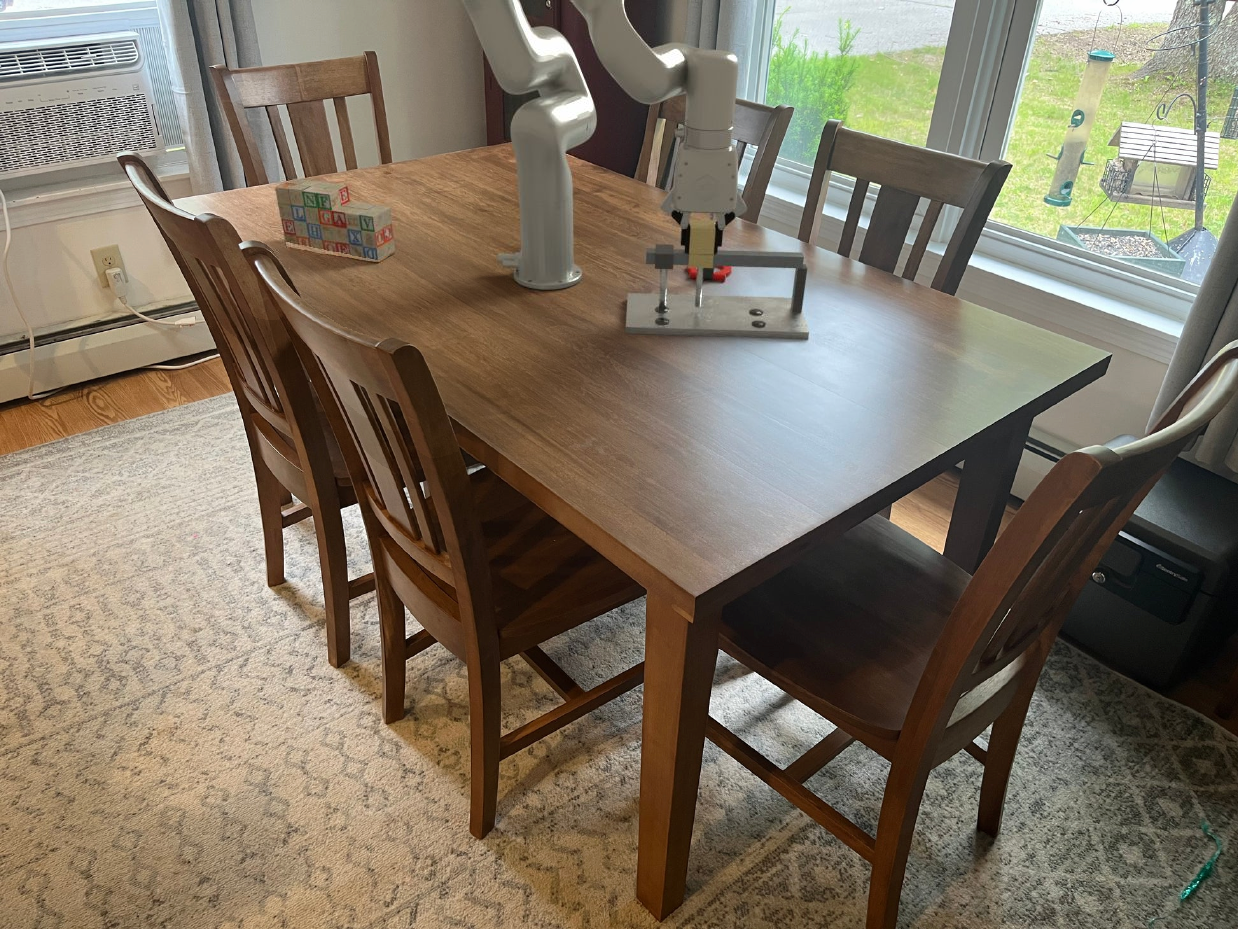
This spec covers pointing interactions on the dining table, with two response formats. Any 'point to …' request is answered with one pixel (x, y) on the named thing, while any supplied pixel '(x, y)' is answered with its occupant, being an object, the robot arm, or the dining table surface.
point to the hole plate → (715, 316)
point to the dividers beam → (669, 256)
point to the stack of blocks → (333, 219)
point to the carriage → (701, 251)
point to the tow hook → (711, 269)
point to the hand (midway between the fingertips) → (700, 248)
